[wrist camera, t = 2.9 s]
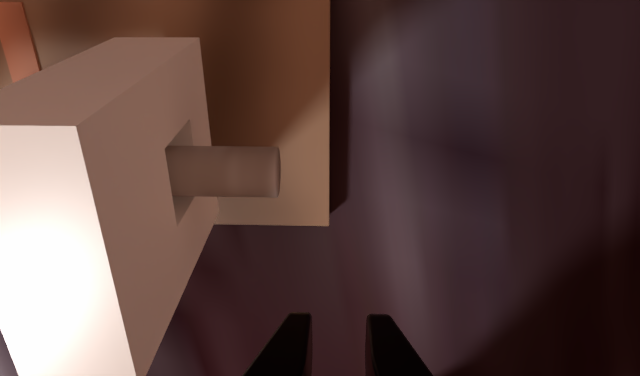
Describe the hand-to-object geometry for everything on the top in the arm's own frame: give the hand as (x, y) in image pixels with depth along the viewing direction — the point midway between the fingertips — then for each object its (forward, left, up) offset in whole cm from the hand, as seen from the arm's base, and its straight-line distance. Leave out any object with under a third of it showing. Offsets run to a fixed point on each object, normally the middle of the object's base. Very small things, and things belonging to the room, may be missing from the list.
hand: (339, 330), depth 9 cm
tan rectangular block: (+7, 0, -10) cm, 12 cm away
